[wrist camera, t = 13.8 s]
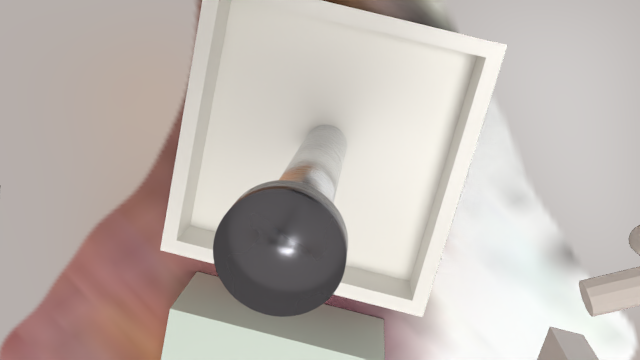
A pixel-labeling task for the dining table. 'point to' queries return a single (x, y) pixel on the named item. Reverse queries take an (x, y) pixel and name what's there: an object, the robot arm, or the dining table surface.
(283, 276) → the steel pin
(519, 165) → the dining table surface
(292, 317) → the block
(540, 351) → the robot arm
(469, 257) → the dining table surface
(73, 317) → the dining table surface
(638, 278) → the pipe connector
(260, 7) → the tray
